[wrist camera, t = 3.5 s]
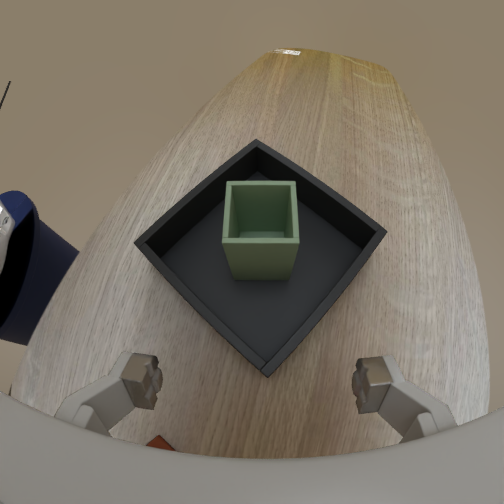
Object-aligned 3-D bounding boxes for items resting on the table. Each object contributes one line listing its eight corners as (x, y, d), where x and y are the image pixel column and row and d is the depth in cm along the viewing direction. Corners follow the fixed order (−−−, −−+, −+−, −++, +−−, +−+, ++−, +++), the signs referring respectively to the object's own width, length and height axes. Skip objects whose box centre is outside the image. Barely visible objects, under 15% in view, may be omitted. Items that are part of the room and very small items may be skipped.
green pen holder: (233, 280, 26) (221, 243, 18) (235, 230, 28) (226, 180, 20) (289, 280, 26) (299, 243, 18) (287, 230, 28) (295, 180, 20)
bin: (151, 261, 27) (133, 242, 23) (257, 166, 32) (255, 138, 27) (267, 375, 23) (267, 378, 19) (371, 251, 27) (387, 231, 23)
